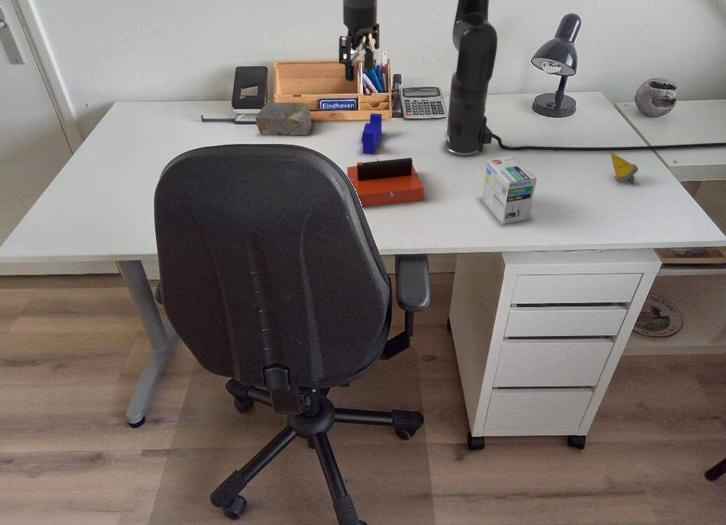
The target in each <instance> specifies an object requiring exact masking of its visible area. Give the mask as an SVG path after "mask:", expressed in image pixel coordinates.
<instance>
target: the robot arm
mask: <svg viewBox="0 0 726 525" xmlns="http://www.w3.org/2000/svg"><path fill="white" fill-rule="evenodd" d="M489 7H490V0H457V7H456V11H455V16H454V20H453V21H454V22H453V26H452V32H451V33H452V34H451V38H452V44H453V46H454V48H455V49H456V50H457V53H458V54H457V62H456V70H455V71H454V72H453V73H452V75H451V81H450V92H449V102H448V103H449V104H448V115H447V124H446V131H444V138H445V143H444V148H445V151H447V152H448V153H450V154H452V155H454V156H459V157H460V156H461V157H469V156H474V155H477V154H478V153H480V152H483V151H484V145H491V144H492V141H493V139H495V140H496V141H497V144H498V147H499V148H501V149H503V150H506V151H526V150H529V151H530V150H532V151H533V150H534V151H559V152H561V151H564V152H567V151H568V152H615V151H620V152H622V151H650V150H651V151H653V150H671V149H691V148H713V147H726V142H710V143H709V142H707V143H704V142H703V143H688V144H687V143H685V144H666V145H665V144H664V145H663V144H662V145H642V146H640V145H639V146H637V145H636V146H585V147H583V146H576V147H575V146H541V145H540V146H538V145H537V146H536V145H523V146H522V145H521V146H507V145H505V144H503V140H502V138H501V137H500V136H498V135H496V134H494V133H493V132H492V130H491V129H490V128H489V127H488V126H487V121H488V117H487V116H486V108H487V107H486V106H487V98H488V91H489V84H490V81H491V80H492V77H493V75H494V70H495V64H496V58H497V54H498V45H499V36H498V31H497V29H495V27H494V26H493V25H492V24H491V22H489ZM342 13H343V14H342V23H343V25H344V26H345V27H346V28H347V34H346V36H343V35H340V36H339V38H338V64H340V65H344V77H345V78H344V79H345V80H346V81H347V82H351V83H352V82H354V81H355V80H356V61H357V58H358V57H360V55H361V52H362V51H364V54H363V68H364V70H366V71H372V70H374V63H375V62H374V59H375V58H374V57H375V56H374V55H375V54H376V52H377V51H376V50H379V49H380V23H377V22H378V21H377V19H378V0H342Z"/></svg>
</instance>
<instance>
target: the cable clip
mask: <svg viewBox="0 0 726 525" xmlns="http://www.w3.org/2000/svg"><path fill="white" fill-rule="evenodd" d="M382 125H383V114H382V113H373V112H371V113H370V115H369V122H365V125H364V127H363V131H362V136H361V143H362V154H363V155H364V154H365V155H375V153H376V150H377V147H378V145H379V143H380V139H381V137H382V132H383V126H382Z"/></svg>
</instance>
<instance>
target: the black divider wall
mask: <svg viewBox="0 0 726 525" xmlns="http://www.w3.org/2000/svg"><path fill="white" fill-rule="evenodd" d="M412 164H413V159H412V157H404V158H396V159H395V158H394V159H385V160H379V161H377V160H376V161H366V162H362V161H359V162H357V163H356V166H357V179H358V181H363V180H372V179H381V178H390V177H400V176H409V175H412Z"/></svg>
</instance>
